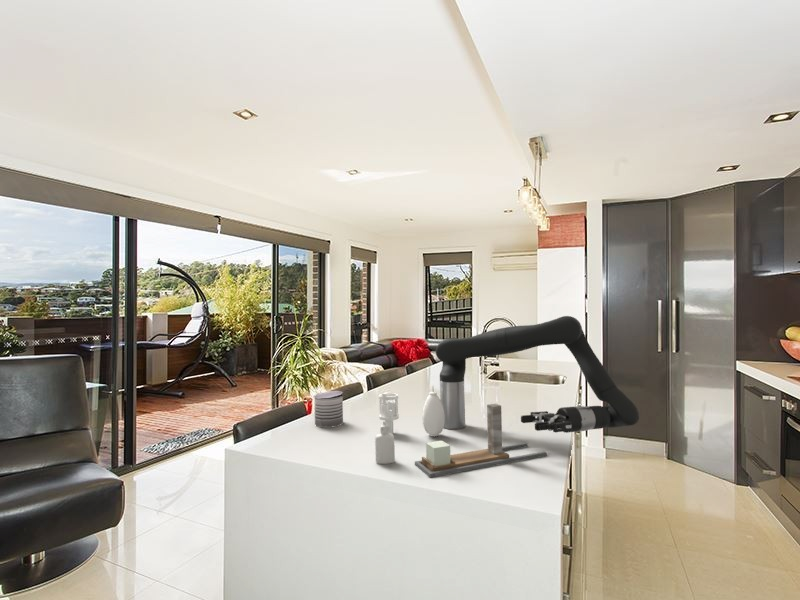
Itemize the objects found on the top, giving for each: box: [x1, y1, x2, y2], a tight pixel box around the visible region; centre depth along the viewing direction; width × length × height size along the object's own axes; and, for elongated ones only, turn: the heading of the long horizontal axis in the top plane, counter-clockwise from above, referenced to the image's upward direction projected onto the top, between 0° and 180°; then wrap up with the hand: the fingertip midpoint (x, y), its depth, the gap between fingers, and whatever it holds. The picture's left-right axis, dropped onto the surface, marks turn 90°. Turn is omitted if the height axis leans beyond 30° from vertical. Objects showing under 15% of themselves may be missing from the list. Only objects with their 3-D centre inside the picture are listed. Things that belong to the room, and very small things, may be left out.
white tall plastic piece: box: [378, 391, 400, 435], centre depth 155 cm, size 7×7×15 cm
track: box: [414, 442, 548, 478], centre depth 126 cm, size 10×39×1 cm, turn 112°
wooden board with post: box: [421, 403, 510, 472], centre depth 124 cm, size 7×25×16 cm, turn 112°
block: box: [425, 440, 451, 466], centre depth 121 cm, size 5×5×5 cm
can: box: [313, 390, 344, 428], centre depth 170 cm, size 11×11×12 cm
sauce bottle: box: [422, 385, 445, 438], centre depth 151 cm, size 8×8×18 cm
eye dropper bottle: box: [374, 420, 396, 465], centre depth 127 cm, size 4×6×12 cm
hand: (528, 423), depth 130 cm, fingers open, 8 cm apart
